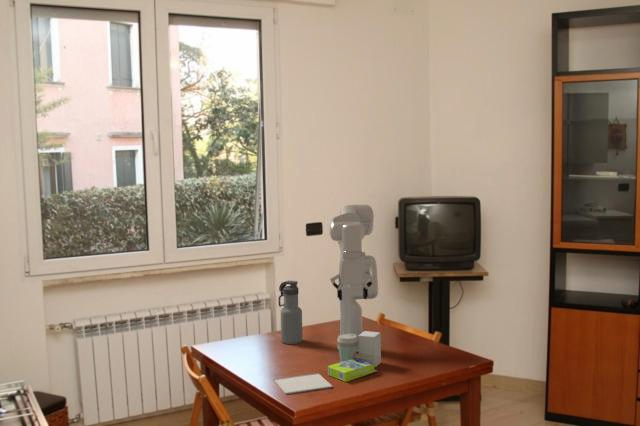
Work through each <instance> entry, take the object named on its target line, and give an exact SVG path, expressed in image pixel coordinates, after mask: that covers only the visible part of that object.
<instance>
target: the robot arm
mask: <svg viewBox="0 0 640 426" xmlns="http://www.w3.org/2000/svg"><path fill="white" fill-rule="evenodd" d="M374 216H375V215H374V210H373V208H372V206H371V205H369V204H348V205H345V206H343V207H342V208H341V209H340V211H339V215H337V216H334V217H333V218H332V219H331V221H330V224H329V236H330V238H331V240H332V241H335V242H337V243H338V246H339V252H340V255H339V256H340V259H339V267H338V273H337V274H336V275H334V276H332V277H330V279H329V280H330V282H331V284H332V286H333V287H334V288H335V289H336V291H337V293H336V295H337V298H338V299H339V314H340V315H339V317H340V319H339V320H340V323H339V324H340V326H339V327H340V333H339V334H340V335H341V334H355V335H356V336H357V338H358V335H360V334H361V333H362V332H363V310H362V306H361V305H360V304H359V302H358V301H357V300H372V299H373V300H374V299H376V298H377V297H378V295H379V283H378V282H379V281H378V265H377V260H376V258H375V257H374V256H373V255H369V254H367V255H366V252H365V251H362V247H363V246H362V243H363V242H362V240H364V238H365V237H366V236H369V235H371V234H372V232H373V230H374V218H375V217H374ZM336 280H338V283H336ZM336 348H337V350H338V351H339V347H338V344H337V345H336ZM356 353H359V352H358V342H357V351H356Z"/></svg>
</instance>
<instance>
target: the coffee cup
mask: <svg viewBox="0 0 640 426" xmlns="http://www.w3.org/2000/svg"><path fill="white" fill-rule="evenodd" d="M336 340H337V345H338V347H339V350H338V353H339V363H340V362H343V361H347V360H350V359H354V358H357V352H356V351H357V342H358V338H357V336H356V335H355V334H341V333H340V334H339V335H338V337H337V339H336Z"/></svg>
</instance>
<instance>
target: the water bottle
mask: <svg viewBox="0 0 640 426" xmlns="http://www.w3.org/2000/svg"><path fill="white" fill-rule="evenodd" d="M287 285H288V286H287ZM278 291H279V292H280V295H279V296H278V297H277V298H278V307H282V308H281V309H280V341H281V342H282V343H283V344H286V345H297V344H300V343H302V341H303V311H302V308H301V307H299V287H298V281H297V280H290V279H288V280H286V281H283V282H281V283H280V284H279V288H278ZM281 297H283V304H282V303H281Z"/></svg>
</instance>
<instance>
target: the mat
mask: <svg viewBox="0 0 640 426" xmlns="http://www.w3.org/2000/svg"><path fill="white" fill-rule="evenodd" d="M273 381H274V382H275V383H276V385H277V386H278V387H279V388H280V389H281V390H282V391H283V393H285V395H286V396H287V395H294V394H300V393H308V392H314V391H321V390H322V391H323V390H327V389H333V388H334V386H333V385H332V384H331V383H330V382H329V381H327V380H326V379H325V378H324V377H323V376H322V375H321V374H320V373H319V372H315V373H309V374H302V375H295V376H288V377H279V378H274V379H273Z"/></svg>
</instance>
